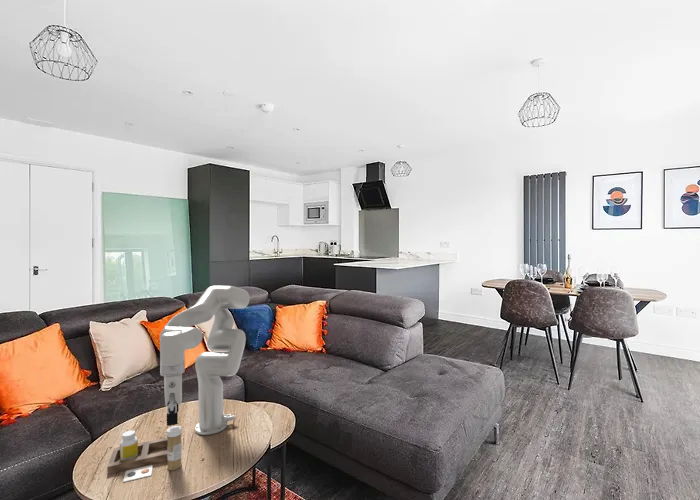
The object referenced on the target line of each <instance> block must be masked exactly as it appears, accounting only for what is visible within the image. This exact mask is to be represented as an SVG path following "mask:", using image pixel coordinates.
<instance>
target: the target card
mask: <svg viewBox="0 0 700 500" xmlns="http://www.w3.org/2000/svg"><path fill="white" fill-rule="evenodd" d="M153 466H154V464H151V465H146V466H142V467H138V468H133V469H129V470H125V473H124V476H123V477H124V478H123V481H122V483H127V482H131V481H134V480H139V479H143V478H147V477H151V476H152V473H153Z"/></svg>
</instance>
